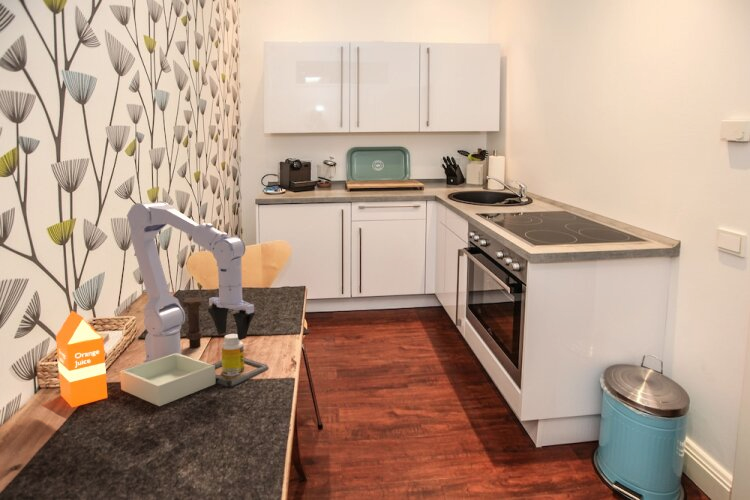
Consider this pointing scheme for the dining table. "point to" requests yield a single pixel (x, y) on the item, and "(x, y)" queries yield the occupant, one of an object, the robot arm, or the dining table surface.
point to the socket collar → (240, 378)
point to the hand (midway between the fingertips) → (232, 336)
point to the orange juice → (81, 362)
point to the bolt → (193, 321)
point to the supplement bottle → (232, 355)
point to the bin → (167, 378)
